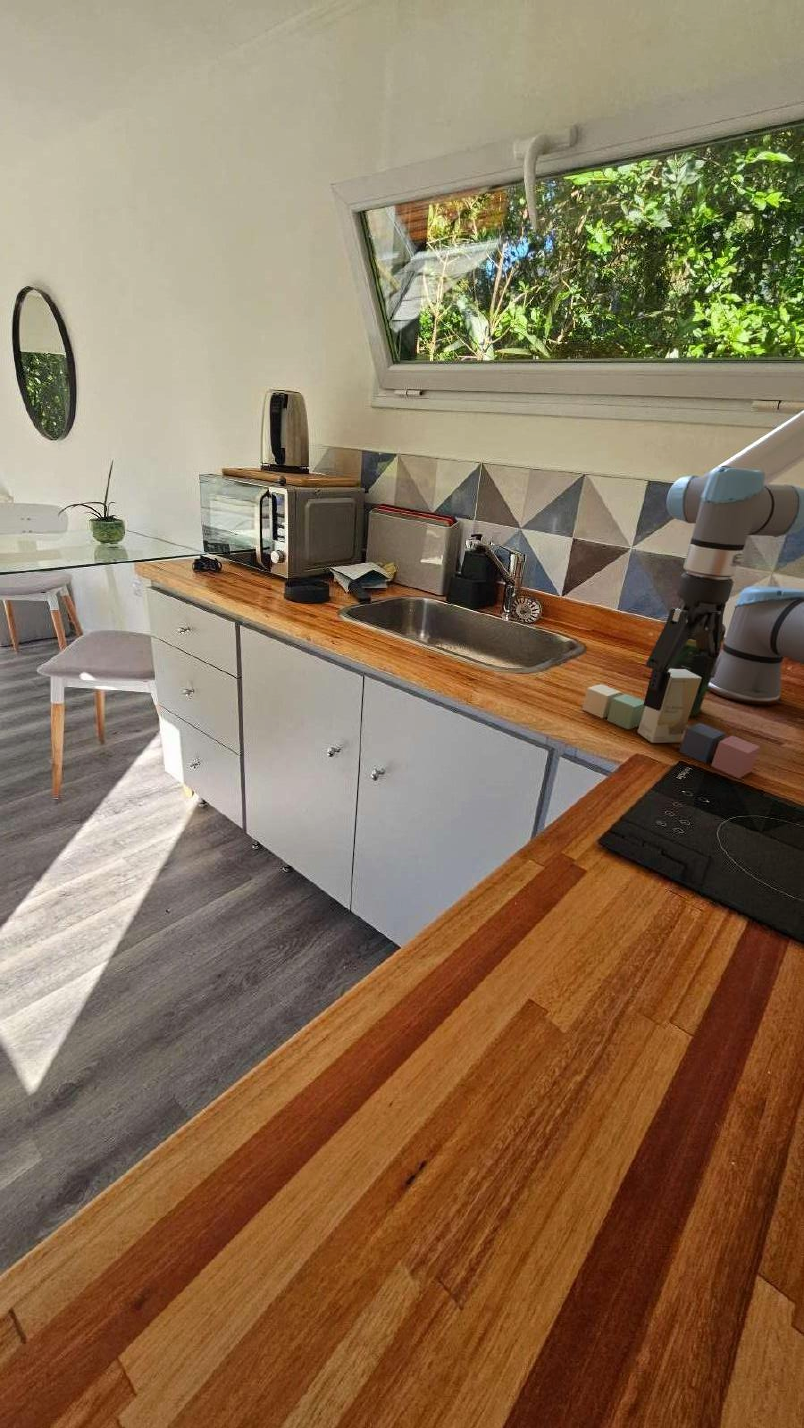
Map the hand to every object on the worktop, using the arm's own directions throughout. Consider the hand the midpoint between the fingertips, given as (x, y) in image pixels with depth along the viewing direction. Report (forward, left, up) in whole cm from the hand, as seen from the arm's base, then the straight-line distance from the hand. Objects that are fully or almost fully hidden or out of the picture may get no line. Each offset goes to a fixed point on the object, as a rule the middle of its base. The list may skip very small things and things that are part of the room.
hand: (672, 699), depth 102 cm
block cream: (0, -13, -7) cm, 15 cm away
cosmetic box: (0, 0, -8) cm, 8 cm away
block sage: (0, -7, -7) cm, 10 cm away
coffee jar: (-17, -6, -8) cm, 19 cm away
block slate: (0, +7, -7) cm, 10 cm away
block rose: (0, +12, -7) cm, 14 cm away
